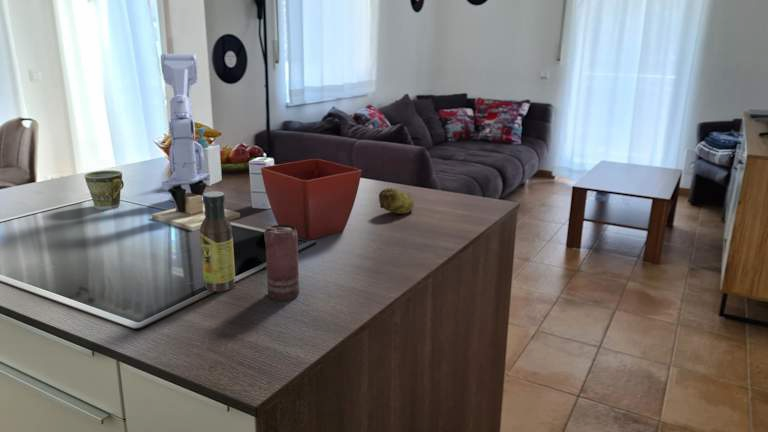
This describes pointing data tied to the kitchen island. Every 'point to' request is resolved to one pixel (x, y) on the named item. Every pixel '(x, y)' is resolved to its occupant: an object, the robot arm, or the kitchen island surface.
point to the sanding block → (192, 204)
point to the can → (282, 262)
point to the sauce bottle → (217, 245)
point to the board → (188, 218)
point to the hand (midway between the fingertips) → (189, 209)
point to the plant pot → (311, 195)
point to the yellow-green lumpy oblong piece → (395, 201)
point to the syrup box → (259, 182)
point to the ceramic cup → (105, 188)
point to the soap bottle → (210, 158)
